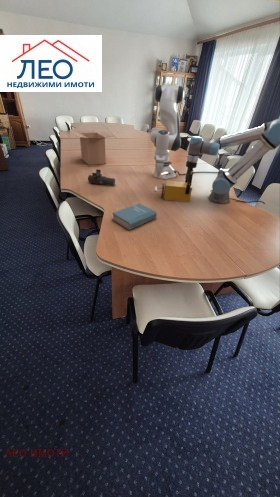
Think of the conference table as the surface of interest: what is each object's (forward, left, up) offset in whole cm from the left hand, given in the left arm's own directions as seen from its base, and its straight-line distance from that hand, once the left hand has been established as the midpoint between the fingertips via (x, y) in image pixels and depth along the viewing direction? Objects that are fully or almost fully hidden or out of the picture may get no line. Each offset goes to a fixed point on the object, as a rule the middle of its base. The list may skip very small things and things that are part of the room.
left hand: (158, 176), depth 164 cm
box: (+19, -102, -15) cm, 105 cm away
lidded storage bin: (-13, +9, -15) cm, 22 cm away
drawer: (-8, +6, -14) cm, 17 cm away
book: (+33, +29, -15) cm, 46 cm away
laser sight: (+33, -36, -15) cm, 51 cm away
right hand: (-19, +12, -9) cm, 24 cm away
